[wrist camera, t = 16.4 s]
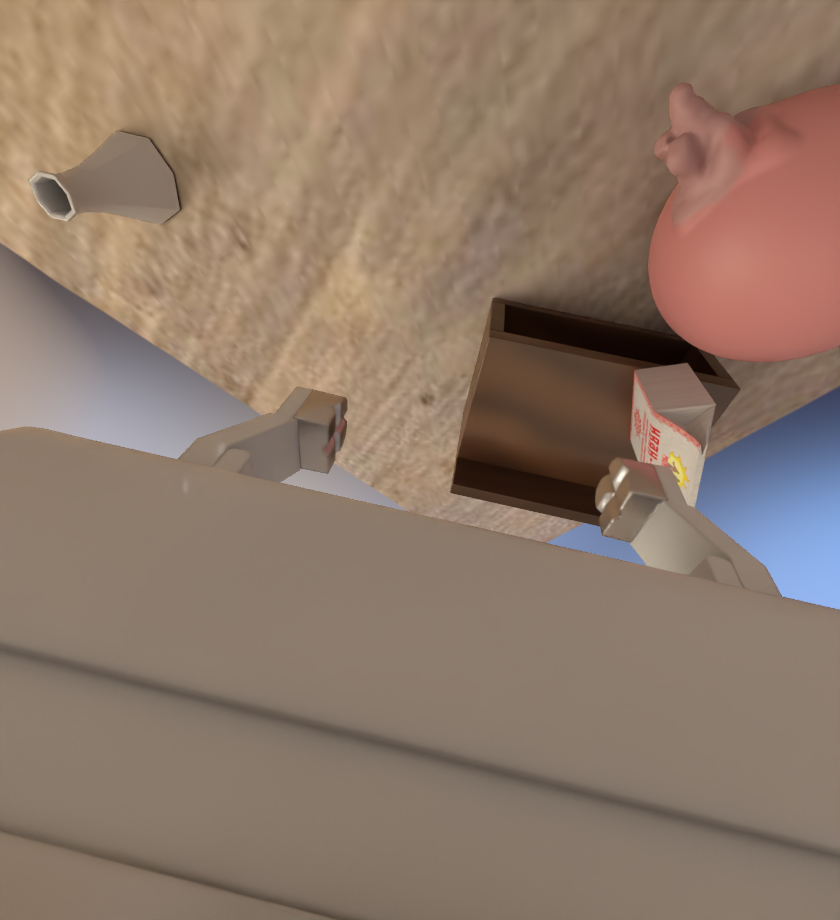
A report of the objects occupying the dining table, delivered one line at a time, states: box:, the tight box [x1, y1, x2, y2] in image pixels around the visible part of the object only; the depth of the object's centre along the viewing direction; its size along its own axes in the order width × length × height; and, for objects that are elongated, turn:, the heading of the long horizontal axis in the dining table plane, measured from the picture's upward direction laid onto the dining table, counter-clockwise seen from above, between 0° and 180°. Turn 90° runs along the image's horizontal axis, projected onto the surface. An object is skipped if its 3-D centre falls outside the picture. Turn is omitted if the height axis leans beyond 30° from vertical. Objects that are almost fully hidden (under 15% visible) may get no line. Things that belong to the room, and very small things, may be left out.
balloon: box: [648, 83, 840, 362], centre depth 27 cm, size 15×20×15 cm
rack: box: [450, 298, 740, 526], centre depth 39 cm, size 14×20×13 cm
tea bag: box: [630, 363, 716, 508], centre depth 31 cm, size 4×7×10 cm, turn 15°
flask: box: [29, 131, 180, 224], centre depth 35 cm, size 7×7×10 cm
